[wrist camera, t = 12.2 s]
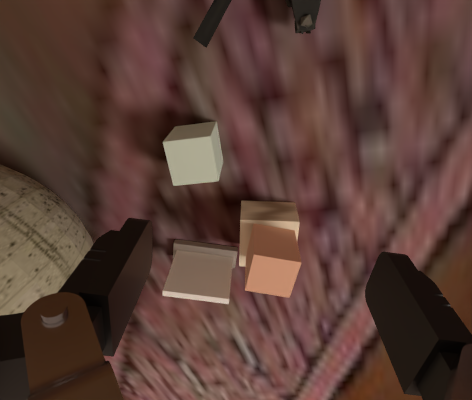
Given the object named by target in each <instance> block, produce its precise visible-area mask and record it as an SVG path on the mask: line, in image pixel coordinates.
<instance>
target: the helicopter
mask: <svg viewBox="0 0 472 400" xmlns="http://www.w3.org/2000/svg"><path fill="white" fill-rule="evenodd" d="M285 1H286V3H287V6H288V7H292V9H293V12H294V16H295V33H302V34H303V32H306V33H311V32H310V30H313V29H315V23H316V19H317V15H318V11H319V6H320V1H321V0H285ZM230 2H231V0H214V1H213V3H212V5H211V7H210V9H209V10H208V12H207V14H206V16H205V18H204V20H203V21H202V23H201V25H200V27H199V29H198V30H197V32H196V34H195V36H194V39H195V40H196V41H198V42H199V43H201V44H202V45H203V46H205V47H207V46H208V44H209V42H210V40H211V38H212V36H213V34H214V32H215V30H216V28H217V27H218V25H219V23H220V21H221V19H222V17H223V15H224V13H225V11H226V10H227V8H228V6H229V4H230ZM291 5H292V6H291Z"/></svg>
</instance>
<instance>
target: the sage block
mask: <svg viewBox="0 0 472 400" xmlns="http://www.w3.org/2000/svg"><path fill="white" fill-rule="evenodd" d="M163 146H164V150H165V154H166V158H167V162H168V166H169V170H170V174H171V178H172V182H173V186H177V185H187V184H196V183H206V182H215V181H219V177H220V173H221V168H222V164H223V157H222V151H221V145H220V139H219V133H218V127H217V121H215V122H207V123H199V124H191V125H183V126H175V127H174V129H173V130H172V131H171V132H170V133H169V135H168V136H167V137H166V138H165V140H164V141H163Z"/></svg>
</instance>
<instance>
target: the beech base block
mask: <svg viewBox="0 0 472 400" xmlns="http://www.w3.org/2000/svg"><path fill="white" fill-rule="evenodd" d="M299 223H300V221H299V217H298V213H297V209H296V205H295V202H269V201H241V216H240V255H239V266H246V254H247V249H248V245H249V241H250V237H251V232H252V228H253V224H260V225H266V226H271V227H277V228H283V229H289V230H295V235H296V239H298V231H299Z"/></svg>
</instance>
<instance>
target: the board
mask: <svg viewBox="0 0 472 400" xmlns="http://www.w3.org/2000/svg"><path fill="white" fill-rule="evenodd" d="M237 251H238V247H232V246H224V245H216V244H209V243H201V242H193V241H186V240H178V239H175V241H174V246H173V263H172V266H171V268H170V271H169V274H168V277H167V280H166V283H165V286H164V289H163V296H170V297H177V298H185V299H193V300H201V301H209V302H217V303H225V304H229V296H230V285H231V273H232V268H235V264H236V257H237Z"/></svg>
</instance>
